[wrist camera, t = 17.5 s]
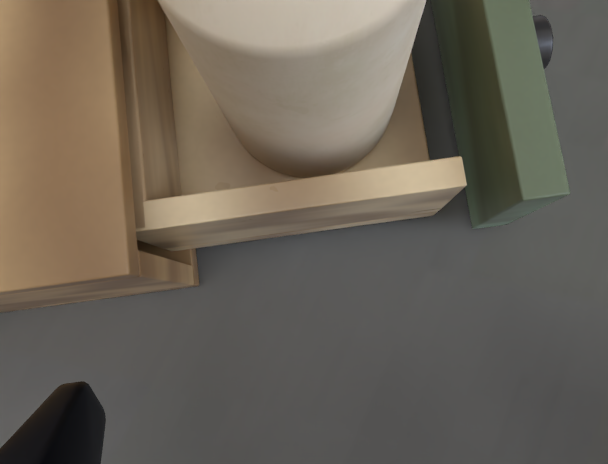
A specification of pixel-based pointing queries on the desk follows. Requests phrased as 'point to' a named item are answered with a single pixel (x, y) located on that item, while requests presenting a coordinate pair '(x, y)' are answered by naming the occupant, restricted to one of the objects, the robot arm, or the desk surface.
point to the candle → (301, 73)
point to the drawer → (368, 171)
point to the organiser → (70, 163)
